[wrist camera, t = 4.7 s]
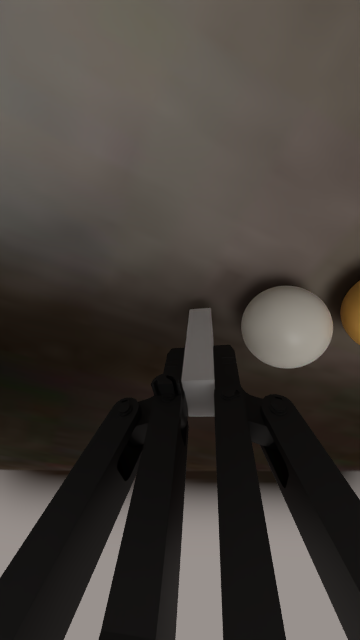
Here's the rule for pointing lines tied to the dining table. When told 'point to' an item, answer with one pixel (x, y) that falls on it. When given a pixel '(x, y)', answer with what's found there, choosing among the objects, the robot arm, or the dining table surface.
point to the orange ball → (352, 313)
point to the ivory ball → (287, 326)
